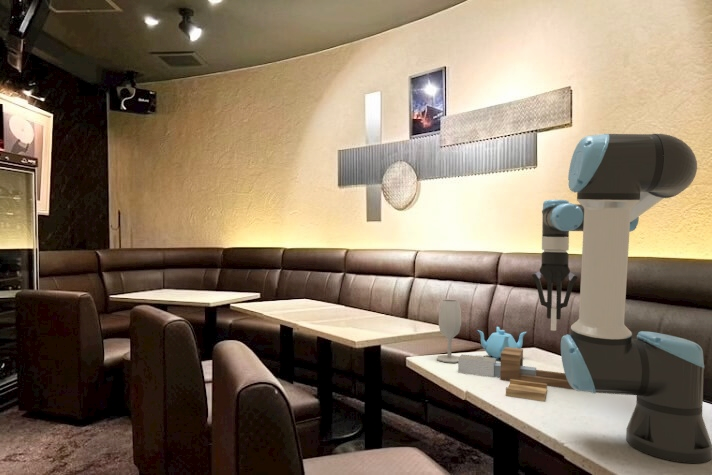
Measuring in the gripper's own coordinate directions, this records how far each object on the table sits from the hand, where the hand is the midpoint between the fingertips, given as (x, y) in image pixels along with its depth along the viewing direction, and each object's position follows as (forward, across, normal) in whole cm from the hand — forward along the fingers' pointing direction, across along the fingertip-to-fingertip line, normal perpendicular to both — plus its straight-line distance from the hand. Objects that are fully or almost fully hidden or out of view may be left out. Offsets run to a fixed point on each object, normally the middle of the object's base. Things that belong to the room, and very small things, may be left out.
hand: (553, 329), depth 148 cm
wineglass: (+16, +34, -11) cm, 39 cm away
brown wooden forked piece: (+16, +2, 0) cm, 16 cm away
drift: (+16, +11, 0) cm, 19 cm away
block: (+16, +22, 0) cm, 27 cm away
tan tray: (+16, +6, +15) cm, 23 cm away
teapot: (+16, +18, -23) cm, 33 cm away
